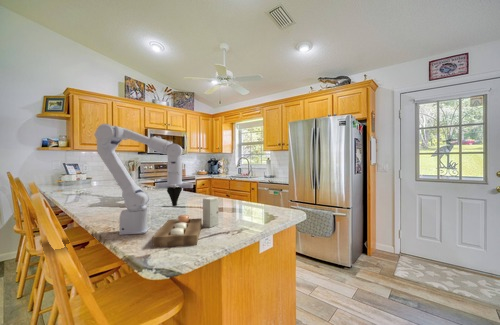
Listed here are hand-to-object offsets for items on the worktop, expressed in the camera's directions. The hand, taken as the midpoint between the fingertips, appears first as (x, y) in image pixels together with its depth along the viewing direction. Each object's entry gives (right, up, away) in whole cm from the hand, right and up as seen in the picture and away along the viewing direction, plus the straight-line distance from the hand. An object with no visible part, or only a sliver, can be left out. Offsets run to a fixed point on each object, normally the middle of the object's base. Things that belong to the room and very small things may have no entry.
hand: (174, 205), depth 89 cm
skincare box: (+14, -10, +6) cm, 18 cm away
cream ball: (+5, -10, -6) cm, 12 cm away
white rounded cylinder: (+6, -10, -13) cm, 17 cm away
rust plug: (+4, -8, +1) cm, 9 cm away
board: (+5, -10, -6) cm, 13 cm away
